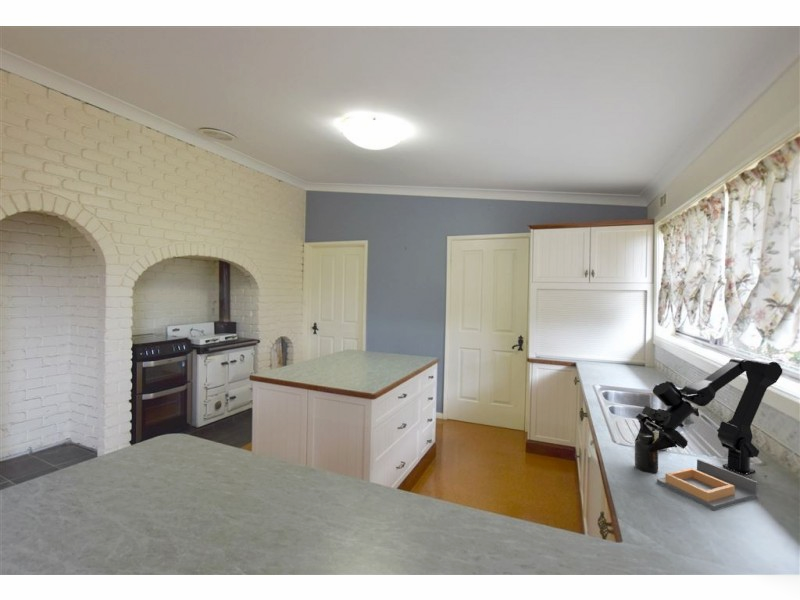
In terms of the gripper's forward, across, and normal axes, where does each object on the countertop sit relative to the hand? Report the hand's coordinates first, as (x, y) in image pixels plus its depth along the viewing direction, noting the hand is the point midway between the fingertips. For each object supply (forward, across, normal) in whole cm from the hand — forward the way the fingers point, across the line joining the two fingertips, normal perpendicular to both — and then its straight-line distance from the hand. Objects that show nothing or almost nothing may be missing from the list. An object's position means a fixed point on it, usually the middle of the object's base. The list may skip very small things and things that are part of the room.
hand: (642, 446), depth 129 cm
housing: (-2, +14, +13) cm, 19 cm away
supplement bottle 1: (+4, 0, +6) cm, 8 cm away
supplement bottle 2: (-7, -18, +18) cm, 27 cm away
